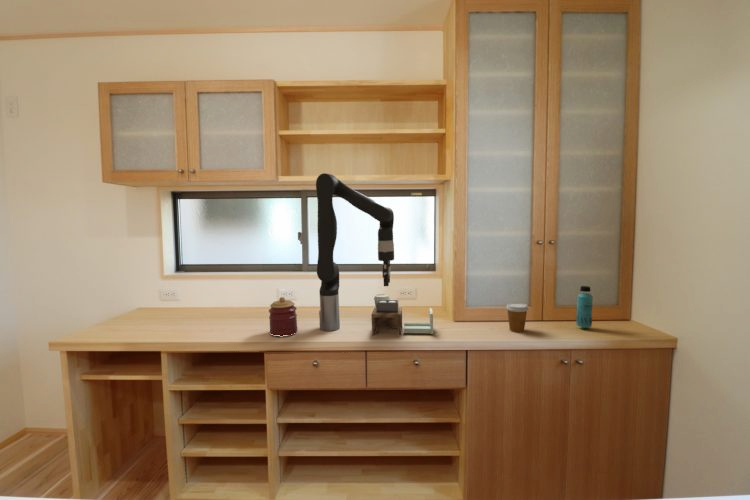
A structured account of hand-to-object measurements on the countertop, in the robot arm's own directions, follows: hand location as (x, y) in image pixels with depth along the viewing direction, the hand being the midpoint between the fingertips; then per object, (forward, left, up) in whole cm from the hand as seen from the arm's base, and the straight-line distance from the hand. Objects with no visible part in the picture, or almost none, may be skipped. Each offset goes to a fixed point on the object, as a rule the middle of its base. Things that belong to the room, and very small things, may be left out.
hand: (386, 284), depth 177 cm
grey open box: (0, 0, -13) cm, 13 cm away
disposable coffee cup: (+60, +3, -23) cm, 64 cm away
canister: (-50, -4, -23) cm, 55 cm away
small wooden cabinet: (0, 0, -23) cm, 23 cm away
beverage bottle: (+91, +6, -23) cm, 94 cm away
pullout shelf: (+14, 0, -22) cm, 26 cm away
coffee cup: (-5, +24, -23) cm, 34 cm away
